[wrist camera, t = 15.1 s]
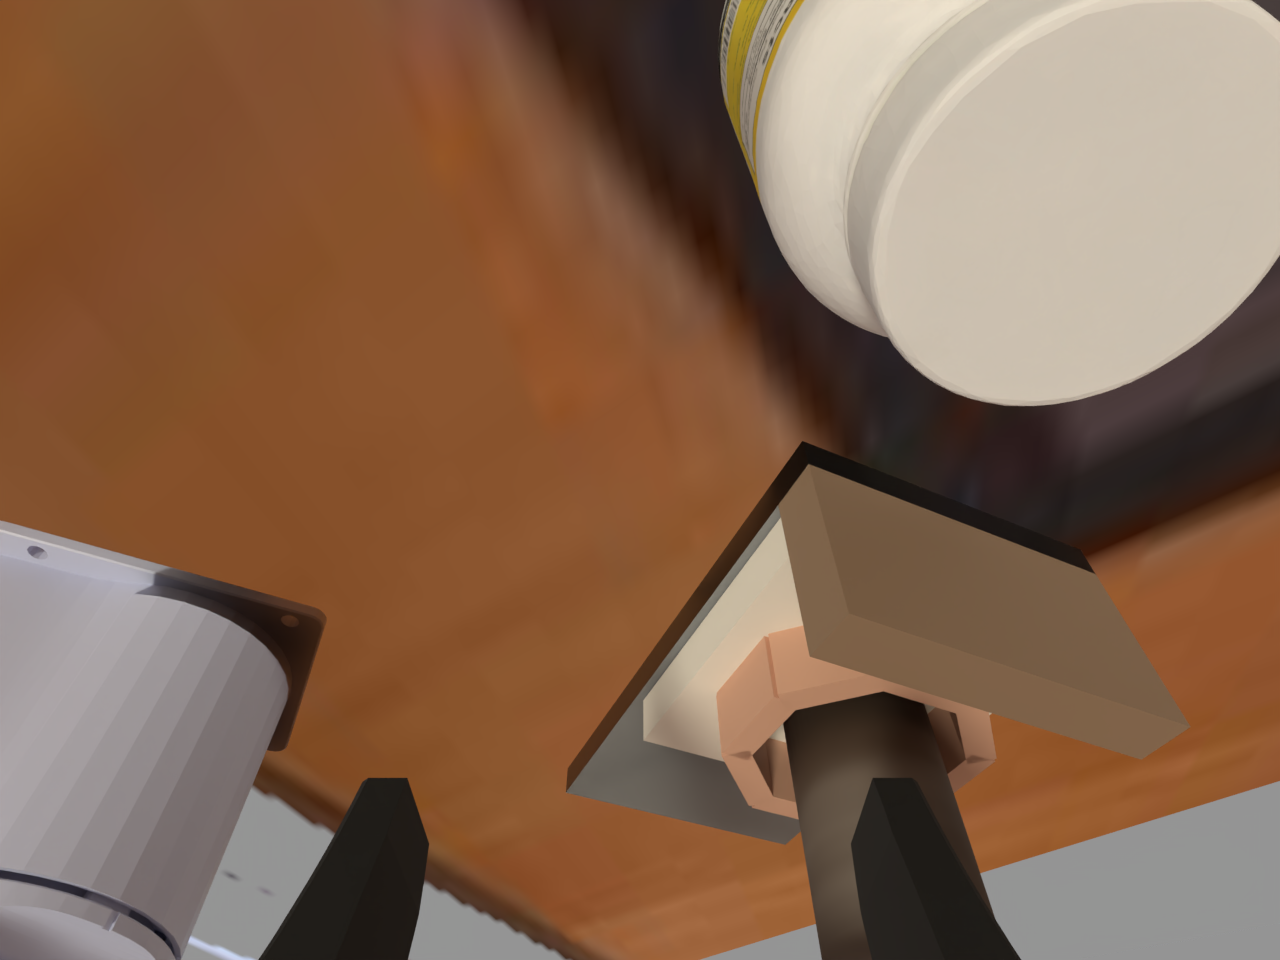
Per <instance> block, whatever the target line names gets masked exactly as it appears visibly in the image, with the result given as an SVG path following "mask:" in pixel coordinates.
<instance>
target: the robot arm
mask: <svg viewBox="0 0 1280 960" xmlns="http://www.w3.org/2000/svg"><path fill="white" fill-rule="evenodd" d="M326 622H327V617H326V616H325V614H324V613H323V612H322V611H321V610H319V609H317V608H315V607H312V606H309V605H305V604H301V603H298V602H294V601H291V600H287V599H283V598H280V597H276V596H272V595H269V594H265V593H262V592H258V591H254V590H251V589H247V588H244V587H240V586H236V585H233V584H229V583H226V582H222V581H218V580H215V579H211V578H208V577H204V576H200V575H197V574H193V573H190V572H186V571H182V570H179V569H175V568H172V567H168V566H164V565H161V564H157V563H154V562H150V561H146V560H143V559H139V558H136V557H132V556H128V555H125V554H121V553H118V552H114V551H110V550H107V549H103V548H100V547H96V546H92V545H89V544H85V543H82V542H78V541H74V540H71V539H67V538H63V537H60V536H56V535H53V534H49V533H45V532H42V531H38V530H35V529H31V528H27V527H24V526H20V525H17V524H13V523H9V522H5V521H0V960H181V958H182V956H183V953H184V951H185V948H186V946H187V943H188V941H189V938H190V936H191V934H192V931H193V929H194V926H195V924H196V921H197V919H198V916H199V914H200V911H201V909H202V906H203V904H204V902H205V899H206V897H207V894H208V892H209V889H210V887H211V884H212V882H213V880H214V877H215V875H216V872H217V870H218V867H219V865H220V863H221V860H222V858H223V855H224V853H225V850H226V848H227V846H228V843H229V841H230V838H231V836H232V833H233V831H234V828H235V826H236V824H237V821H238V819H239V816H240V814H241V811H242V809H243V807H244V804H245V802H246V799H247V797H248V794H249V792H250V790H251V787H252V785H253V782H254V780H255V777H256V775H257V772H258V770H259V768H260V765H261V763H262V760H263V758H264V755H265V753H266V751H267V750H268V751H275V752H276V751H282V750H284V749H286V747H287V745H288V743H289V740H290V737H291V734H292V731H293V728H294V724H295V721H296V718H297V715H298V712H299V708H300V705H301V702H302V699H303V696H304V692H305V689H306V686H307V683H308V680H309V676H310V673H311V670H312V667H313V664H314V660H315V657H316V654H317V651H318V648H319V644H320V641H321V638H322V635H323V632H324V628H325V625H326ZM428 849H429V842H428V839H427V836H426V833H425V830H424V827H423V824H422V821H421V818H420V815H419V812H418V808H417V805H416V802H415V799H414V796H413V793H412V790H411V787H410V784H409V781H408V778H367V779H366V780H364V781H363V782H362V784H361V786H360V788H359V790H358V792H357V793H356V795H355V797H354V799H353V801H352V803H351V805H350V807H349V809H348V811H347V813H346V815H345V816H344V818H343V820H342V822H341V824H340V826H339V828H338V829H337V831H336V833H335V835H334V837H333V838H332V840H331V842H330V844H329V846H328V847H327V849H326V851H325V853H324V854H323V856H322V858H321V859H320V861H319V863H318V865H317V866H316V868H315V870H314V872H313V873H312V875H311V877H310V878H309V880H308V882H307V883H306V885H305V887H304V888H303V890H302V891H301V893H300V895H299V896H298V898H297V900H296V901H295V903H294V904H293V906H292V908H291V909H290V911H289V913H288V914H287V916H286V917H285V919H284V921H283V922H282V924H281V926H280V927H279V929H278V930H277V932H276V934H275V935H274V937H273V938H272V940H271V941H270V943H269V944H268V946H267V947H266V949H265V950H264V952H263V953H262V955H261V956H260V958H259V959H258V960H408V957H409V953H410V949H411V945H412V941H413V937H414V933H415V929H416V925H417V921H418V916H419V911H420V905H421V898H422V892H423V885H424V878H425V871H426V864H427V856H428ZM851 849H852V856H853V864H854V871H855V878H856V885H857V892H858V898H859V905H860V911H861V916H862V921H863V925H864V929H865V933H866V937H867V941H868V945H869V949H870V953H871V957H872V960H1021V958H1020V957H1019V955H1018V954H1017V952H1016V951H1015V949H1014V948H1013V946H1012V945H1011V943H1010V942H1009V940H1008V938H1007V937H1006V935H1005V934H1004V932H1003V930H1002V929H1001V927H1000V926H999V924H998V923H997V921H996V919H995V918H994V916H993V915H992V913H991V911H990V910H989V908H988V907H987V905H986V904H985V902H984V900H983V899H982V897H981V895H980V894H979V892H978V890H977V889H976V887H975V885H974V884H973V882H972V880H971V879H970V877H969V875H968V874H967V872H966V870H965V868H964V867H963V865H962V863H961V862H960V860H959V858H958V856H957V855H956V853H955V851H954V849H953V848H952V846H951V844H950V842H949V841H948V839H947V837H946V835H945V833H944V832H943V830H942V828H941V826H940V824H939V822H938V821H937V819H936V817H935V815H934V813H933V811H932V809H931V807H930V805H929V804H928V802H927V800H926V798H925V796H924V794H923V792H922V790H921V788H920V786H919V784H918V782H917V781H916V780H914V779H913V778H872V781H871V784H870V787H869V790H868V793H867V796H866V799H865V802H864V805H863V808H862V812H861V815H860V818H859V821H858V824H857V827H856V830H855V833H854V836H853V839H852V842H851Z"/></svg>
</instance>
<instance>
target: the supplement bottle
mask: <svg viewBox="0 0 1280 960" xmlns="http://www.w3.org/2000/svg"><path fill="white" fill-rule="evenodd" d="M718 66H719V77H720V83H721V89H722V94H723V99H724V102H725V105H726V108H727V111H728V113H729V116H730V119H731V122H732V124H733V127H734V130H735V133H736V135H737V138H738V141H739V143H740V146H741V149H742V151H743V154H744V157H745V159H746V162H747V165H748V167H749V170H750V173H751V175H752V178H753V181H754V184H755V187H756V190H757V193H758V197H759V199H760V202H761V205H762V208H763V210H764V213H765V216H766V218H767V221H768V223H769V226H770V228H771V231H772V234H773V236H774V239H775V241H776V243H777V245H778V247H779V249H780V251H781V253H782V255H783V257H784V258H785V260H786V261H787V263H788V265H789V266H790V268H791V269H792V271H793V272H794V273H795V275H796V276H797V278H798V279H799V280H800V281H801V283H802V284H803V285H804V286H805V288H806V289H807V290H808V291H809V292H810V293H811V294H812V295H813V296H814V297H815V298H816V299H817V300H818V301H819V302H821V303H822V304H823V305H824V306H826V307H827V308H828V309H830V310H831V311H832V312H834V313H835V314H837V315H838V316H840V317H841V318H843V319H845V320H846V321H848V322H850V323H852V324H854V325H856V326H858V327H860V328H862V329H864V330H867V331H870V332H872V333H875V334H878V335H881V336H884V337H888V338H889V339H890V341H891V342H892V344H893V346H894V347H895V348H896V349H897V350H898V352H899V353H900V354H901V355H902V356H903V358H904V359H905V360H906V361H907V362H908V363H909V364H911V365H912V366H913V367H914V368H915V369H916V370H917V371H919V372H920V373H921V374H922V375H923V376H925V377H926V378H928V379H929V380H931V381H932V382H934V383H935V384H937V385H939V386H941V387H943V388H945V389H947V390H949V391H951V392H953V393H955V394H958V395H961V396H964V397H967V398H970V399H974V400H978V401H982V402H986V403H992V404H998V405H1004V406H1040V405H1051V404H1058V403H1064V402H1069V401H1075V400H1079V399H1083V398H1087V397H1091V396H1094V395H1098V394H1102V393H1105V392H1107V391H1110V390H1113V389H1116V388H1118V387H1121V386H1123V385H1125V384H1128V383H1131V382H1133V381H1135V380H1137V379H1139V378H1141V377H1143V376H1145V375H1147V374H1149V373H1151V372H1153V371H1154V370H1156V369H1158V368H1160V367H1161V366H1163V365H1165V364H1166V363H1168V362H1170V361H1171V360H1173V359H1174V358H1176V357H1178V356H1179V355H1181V354H1182V353H1184V352H1185V351H1187V350H1189V349H1190V348H1191V347H1193V346H1194V345H1195V344H1197V343H1198V342H1200V341H1201V340H1202V339H1203V338H1205V337H1206V336H1207V335H1208V334H1210V333H1211V332H1212V331H1213V330H1214V329H1216V328H1217V327H1218V326H1219V325H1220V324H1221V323H1222V322H1223V321H1224V320H1226V319H1227V318H1228V317H1229V316H1230V315H1231V314H1232V313H1233V312H1234V311H1235V310H1236V309H1237V308H1238V307H1239V306H1240V304H1241V303H1242V302H1243V301H1244V300H1245V299H1246V298H1247V297H1248V296H1249V295H1250V294H1251V293H1252V292H1253V290H1254V289H1255V288H1256V287H1257V285H1258V284H1259V283H1260V282H1261V280H1262V279H1263V278H1264V277H1265V275H1266V274H1267V273H1268V271H1269V270H1270V269H1271V267H1272V266H1273V264H1274V263H1275V261H1276V260H1277V259H1278V257H1279V256H1280V22H1279V21H1278V20H1277V19H1276V18H1274V17H1273V16H1272V15H1271V14H1269V13H1268V12H1267V11H1265V10H1264V9H1263V8H1261V7H1260V6H1259V5H1257V4H1256V3H1255V2H1253V1H1251V0H726V2H725V5H724V9H723V13H722V18H721V23H720V32H719V40H718Z"/></svg>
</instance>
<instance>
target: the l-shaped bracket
mask: <svg viewBox="0 0 1280 960" xmlns="http://www.w3.org/2000/svg"><path fill="white" fill-rule="evenodd" d="M780 518H781V521H782V526H783V531H784V535H785V540H786V545H787V550H788V555H789V559H790V564H791V569H792V574H793V579H794V583H795V588H796V593H797V598H798V603H799V607H800V612H801V617H802V622H803V627H804V632H805V636H806V641H807V646H808V651H809V656H810V657H812V658H816V659H819V660H822V661H825V662H829V663H832V664H835V665H838V666H841V667H845V668H848V669H851V670H854V671H858V672H861V673H864V674H867V675H870V676H874V677H877V678H880V679H883V680H886V681H890V682H893V683H896V684H899V685H903V686H906V687H909V688H912V689H915V690H919V691H922V692H925V693H928V694H932V695H935V696H938V697H941V698H944V699H948V700H951V701H954V702H957V703H961V704H964V705H967V706H970V707H973V708H977V709H980V710H983V711H986V712H989V713H993V714H996V715H999V716H1002V717H1006V718H1009V719H1012V720H1015V721H1018V722H1022V723H1025V724H1028V725H1031V726H1035V727H1038V728H1041V729H1044V730H1047V731H1051V732H1054V733H1057V734H1060V735H1063V736H1067V737H1070V738H1073V739H1076V740H1080V741H1083V742H1086V743H1089V744H1092V745H1096V746H1099V747H1102V748H1105V749H1109V750H1112V751H1115V752H1118V753H1121V754H1125V755H1128V756H1131V757H1134V758H1137V759H1141V760H1142V759H1143V758H1145V757H1146V756H1148V755H1149V754H1151V753H1152V752H1154V751H1155V750H1157V749H1158V748H1160V747H1161V746H1163V745H1164V744H1166V743H1167V742H1169V741H1170V740H1172V739H1173V738H1175V737H1176V736H1178V735H1179V734H1181V733H1182V732H1184V731H1185V730H1187V729H1188V728H1190V725H1189V723H1188V722H1187V720H1186V719H1185V717H1184V715H1183V714H1182V712H1181V711H1180V709H1179V707H1178V706H1177V704H1176V703H1175V701H1174V699H1173V698H1172V696H1171V695H1170V693H1169V691H1168V690H1167V688H1166V686H1165V685H1164V683H1163V682H1162V680H1161V678H1160V677H1159V675H1158V674H1157V672H1156V670H1155V669H1154V667H1153V666H1152V664H1151V662H1150V661H1149V659H1148V658H1147V656H1146V654H1145V653H1144V651H1143V649H1142V648H1141V646H1140V645H1139V643H1138V641H1137V640H1136V638H1135V637H1134V635H1133V633H1132V632H1131V630H1130V629H1129V627H1128V625H1127V624H1126V622H1125V621H1124V619H1123V617H1122V616H1121V614H1120V612H1119V611H1118V609H1117V608H1116V606H1115V604H1114V603H1113V601H1112V600H1111V598H1110V596H1109V595H1108V593H1107V592H1106V590H1105V588H1104V587H1103V585H1102V584H1101V582H1100V580H1099V579H1098V577H1097V575H1096V574H1095V572H1094V571H1093V569H1092V567H1091V566H1090V564H1089V563H1088V561H1087V559H1086V558H1085V556H1084V555H1083V553H1082V551H1081V550H1080V549H1078V548H1075V547H1072V546H1070V545H1067V544H1065V543H1062V542H1060V541H1057V540H1055V539H1052V538H1049V537H1047V536H1044V535H1042V534H1039V533H1037V532H1034V531H1032V530H1029V529H1026V528H1024V527H1021V526H1019V525H1016V524H1014V523H1011V522H1009V521H1006V520H1003V519H1001V518H998V517H996V516H993V515H991V514H988V513H986V512H983V511H980V510H978V509H975V508H973V507H970V506H968V505H965V504H963V503H960V502H957V501H955V500H952V499H950V498H947V497H945V496H942V495H940V494H937V493H934V492H932V491H929V490H927V489H924V488H922V487H919V486H917V485H914V484H911V483H909V482H906V481H904V480H901V479H899V478H896V477H894V476H891V475H888V474H886V473H883V472H881V471H878V470H876V469H873V468H871V467H868V466H865V465H863V464H860V463H858V462H855V461H853V460H850V459H848V458H845V457H842V456H840V455H837V454H835V453H832V452H830V451H827V450H825V449H822V448H819V447H817V446H814V445H812V444H809V443H807V442H804V441H802V442H801V443H800V445H799V446H798V448H797V449H796V450H795V452H794V453H793V455H792V456H791V457H790V459H789V460H788V462H787V463H786V464H785V466H784V467H783V469H782V470H781V471H780V473H779V474H778V475H777V477H776V478H775V480H774V481H773V482H772V484H771V485H770V487H769V488H768V489H767V491H766V492H765V494H764V495H763V496H762V498H761V499H760V501H759V502H758V503H757V505H756V506H755V508H754V509H753V510H752V512H751V513H750V515H749V516H748V517H747V519H746V520H745V522H744V523H743V524H742V526H741V527H740V529H739V530H738V531H737V533H736V534H735V536H734V537H733V538H732V540H731V541H730V543H729V544H728V545H727V547H726V548H725V549H724V551H723V552H722V554H721V555H720V556H719V558H718V559H717V561H716V562H715V563H714V565H713V566H712V568H711V569H710V570H709V572H708V573H707V575H706V576H705V577H704V579H703V580H702V582H701V583H700V584H699V586H698V587H697V589H696V590H695V591H694V593H693V594H692V596H691V597H690V598H689V600H688V601H687V603H686V604H685V605H684V607H683V608H682V610H681V611H680V612H679V614H678V615H677V616H676V618H675V619H674V621H673V622H672V623H671V625H670V626H669V628H668V629H667V630H666V632H665V633H664V635H663V636H662V637H661V639H660V640H659V642H658V643H657V644H656V646H655V647H654V649H653V650H652V651H651V653H650V654H649V656H648V657H647V658H646V660H645V661H644V663H643V664H642V665H641V667H640V668H639V670H638V671H637V672H636V674H635V675H634V677H633V678H632V679H631V681H630V682H629V684H628V685H627V686H626V688H625V689H624V690H623V692H622V693H621V695H620V696H619V697H618V699H617V700H616V702H615V703H614V704H613V706H612V707H611V709H610V710H609V711H608V713H607V714H606V716H605V717H604V718H603V720H602V721H601V723H600V724H599V725H598V727H597V728H596V730H595V731H594V732H593V734H592V735H591V737H590V738H589V739H588V741H587V742H586V744H585V745H584V746H583V748H582V749H581V751H580V752H579V753H578V755H577V756H576V757H575V759H574V760H573V762H572V763H571V764H570V766H569V767H568V771H567V784H566V793H569V794H574V795H578V796H582V797H586V798H590V799H595V800H599V801H603V802H607V803H611V804H616V805H620V806H624V807H628V808H632V809H637V810H641V811H645V812H649V813H654V814H658V815H662V816H666V817H670V818H675V819H679V820H683V821H687V822H691V823H696V824H700V825H704V826H708V827H713V828H717V829H721V830H725V831H729V832H734V833H738V834H742V835H746V836H750V837H755V838H759V839H763V840H767V841H771V842H776V843H780V844H784V845H786V844H787V843H788V842H789V841H790V840H791V839H793V838H794V837H795V836H796V835H797V834H798V833H799V832H801V830H800V824H799V819H795V818H791V817H787V816H783V815H779V814H775V813H771V812H767V811H763V810H759V809H755V808H752V806H749V805H748V803H747V801H746V800H745V798H744V796H743V794H742V792H741V790H740V789H739V787H738V785H737V783H736V781H735V780H734V778H733V776H732V774H731V772H730V771H729V769H728V767H727V765H726V763H725V762H723V761H720V760H716V759H712V758H708V757H704V756H701V755H697V754H693V753H689V752H685V751H681V750H678V749H674V748H670V747H666V746H662V745H659V744H655V743H651V742H647V741H643V700H644V699H645V697H646V696H647V695H648V693H649V692H650V691H651V689H652V688H653V687H654V685H655V684H656V683H657V681H658V680H659V679H660V677H661V676H662V675H663V673H664V672H665V671H666V669H667V668H668V667H669V665H670V664H671V663H672V661H673V660H674V659H675V657H676V656H677V655H678V653H679V652H680V651H681V649H682V648H683V647H684V645H685V644H686V643H687V641H688V640H689V639H690V638H691V636H692V635H693V634H694V632H695V631H696V630H697V628H698V627H699V626H700V624H701V623H702V622H703V620H704V619H705V618H706V616H707V615H708V614H709V612H710V611H711V610H712V608H713V607H714V606H715V604H716V603H717V602H718V600H719V599H720V598H721V596H722V595H723V594H724V592H725V591H726V590H727V588H728V587H729V586H730V584H731V583H732V582H733V580H734V579H735V578H736V576H737V575H738V574H739V572H740V571H741V570H742V568H743V567H744V566H745V564H746V563H747V562H748V560H749V559H750V558H751V556H752V555H753V554H754V552H755V551H756V550H757V548H758V547H759V546H760V544H761V543H762V542H763V540H764V539H765V538H766V536H767V535H768V534H769V532H770V531H771V530H772V528H773V527H774V526H775V524H776V523H777V522H778V520H779V519H780Z"/></svg>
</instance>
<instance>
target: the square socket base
mask: <svg viewBox="0 0 1280 960" xmlns="http://www.w3.org/2000/svg"><path fill="white" fill-rule="evenodd" d="M882 691H884V692H888V693H891V694H894V695H897V696H901V697H904V698H907V699H910V700H914V701H917V702H920V703H923V704H924V705H925V708H926V711H927V714H928V717H929V720H930V723H931V726H932V729H933V732H934V735H935V738H936V741H937V744H938V747H939V750H940V753H941V756H942V759H943V762H944V765H945V768H946V771H947V774H948V777H949V780H950V783H951V786H952V789H953V792H954V793H955V792H956V791H957V790H959V789H960V788H961V787H962V786H964V785H965V784H966V783H968V782H969V781H970V780H972V779H973V778H974V777H976V776H977V775H978V774H979V773H981V772H982V771H983V770H985V769H986V768H987V767H989V766H990V765H991V764H993V763H994V762H995V759H997V758H996V752H995V746H994V740H993V734H992V728H991V723H990V717H989V715H990V714H992V713H989V712H986V711H983V710H980V709H977V708H973V707H970V706H967V705H964V704H961V703H957V702H954V701H951V700H948V699H944V698H941V697H938V696H935V695H932V694H928V693H925V692H922V691H919V690H915V689H912V688H909V687H906V686H903V685H899V684H896V683H893V682H890V681H886V680H883V679H880V678H877V677H874V676H870V675H867V674H864V673H861V672H858V671H854V670H851V669H848V668H845V667H841V666H838V665H835V664H832V663H829V662H825V661H822V660H819V659H816V658H812V657H810V656H809V651H808V646H807V641H806V636H805V632H804V627H803V622H802V617H801V612H800V607H799V603H798V598H797V593H796V588H795V583H794V579H793V574H792V569H791V564H790V559H789V555H788V550H787V545H786V540H785V535H784V531H783V526H782V521H781V518H780V519H779V520H778V522H777V523H776V524H775V526H774V527H773V528H772V530H771V531H770V532H769V534H768V535H767V536H766V538H765V539H764V540H763V542H762V543H761V544H760V546H759V547H758V548H757V550H756V551H755V552H754V554H753V555H752V556H751V558H750V559H749V560H748V562H747V563H746V564H745V566H744V567H743V568H742V570H741V571H740V572H739V574H738V575H737V576H736V578H735V579H734V580H733V582H732V583H731V584H730V586H729V587H728V588H727V590H726V591H725V592H724V594H723V595H722V596H721V598H720V599H719V600H718V602H717V603H716V604H715V606H714V607H713V608H712V610H711V611H710V612H709V614H708V615H707V616H706V618H705V619H704V620H703V622H702V623H701V624H700V626H699V627H698V628H697V630H696V631H695V632H694V634H693V635H692V636H691V638H690V639H689V640H688V641H687V643H686V644H685V645H684V647H683V648H682V649H681V651H680V652H679V653H678V655H677V656H676V657H675V659H674V660H673V661H672V663H671V664H670V665H669V667H668V668H667V669H666V671H665V672H664V673H663V675H662V676H661V677H660V679H659V680H658V681H657V683H656V684H655V685H654V687H653V688H652V689H651V691H650V692H649V693H648V695H647V696H646V697H645V699H644V700H643V741H647V742H651V743H655V744H659V745H662V746H666V747H670V748H674V749H678V750H681V751H685V752H689V753H693V754H697V755H701V756H704V757H708V758H712V759H716V760H720V761H723V762H725V763H726V765H727V767H728V769H729V771H730V772H731V774H732V776H733V778H734V780H735V781H736V783H737V785H738V787H739V789H740V790H741V792H742V794H743V796H744V798H745V800H746V801H747V803H748V805H749V806H752V808H755V809H759V810H763V811H767V812H771V813H775V814H779V815H783V816H787V817H791V818H795V819H799V818H798V812H797V805H796V799H795V793H794V787H793V781H792V775H791V769H790V763H789V757H788V751H787V744H786V738H785V732H784V726H783V723H784V722H785V721H786V720H787V719H788V717H789V716H790V715H791V714H792V713H793V712H794V711H795V710H799V709H804V708H808V707H813V706H817V705H822V704H827V703H831V702H836V701H841V700H845V699H850V698H855V697H859V696H864V695H869V694H873V693H878V692H882Z"/></svg>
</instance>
